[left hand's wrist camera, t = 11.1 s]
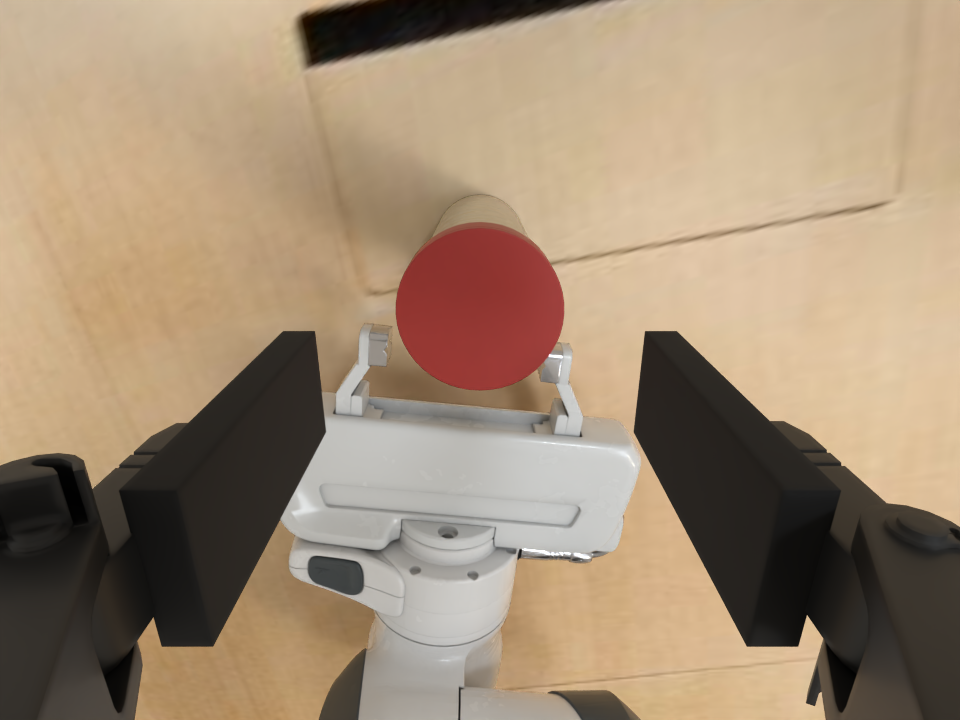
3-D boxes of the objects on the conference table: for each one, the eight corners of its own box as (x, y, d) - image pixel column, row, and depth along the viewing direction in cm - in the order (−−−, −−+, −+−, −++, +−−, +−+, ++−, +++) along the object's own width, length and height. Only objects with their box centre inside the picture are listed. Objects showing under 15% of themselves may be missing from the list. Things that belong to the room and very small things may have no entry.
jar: (487, 299, 35) (492, 404, 21) (418, 248, 34) (376, 323, 20) (541, 231, 34) (585, 296, 20) (471, 175, 32) (465, 201, 18)
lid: (493, 401, 22) (494, 419, 21) (370, 315, 21) (362, 328, 20) (591, 287, 21) (599, 298, 19) (464, 186, 19) (463, 190, 18)
